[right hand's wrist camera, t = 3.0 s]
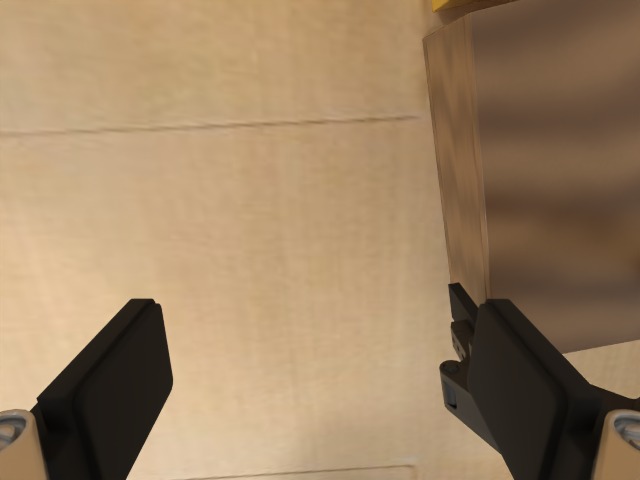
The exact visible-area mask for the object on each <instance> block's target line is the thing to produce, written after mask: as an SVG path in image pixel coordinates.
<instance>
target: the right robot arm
mask: <svg viewBox="0 0 640 480" xmlns="http://www.w3.org/2000/svg"><path fill="white" fill-rule="evenodd" d="M172 386H173V375H172V369H171V363H170V357H169V351H168V344H167V338H166V332H165V326H164V320H163V314H162V308H161V305H160V304H156V303H155V301H154V300H153V299H131V300H129V302H128V303H127V304H126V305H125V306H124V307H123V308H122V309H121V310H120V311H119V312H118V313H117V314H116V315H115V316H114V317H113V318H112V319H111V320H110V321H109V323H108V324H107V325H106V326H105V327H104V328H103V329H102V330H101V331H100V332H99V333H98V334H97V335H96V336H95V337H94V338H93V339H92V340H91V341H90V343H89V344H88V345H87V346H86V347H85V348H84V349H83V350H82V351H81V352H80V353H79V354H78V355H77V356H76V357H75V358H74V359H73V360H72V361H71V363H70V364H69V365H68V366H67V367H66V368H65V369H64V370H63V371H62V372H61V373H60V374H59V375H58V376H57V377H56V378H55V379H54V380H53V381H52V382H51V384H50V385H49V386H48V387H47V388H46V389H45V390H44V391H43V392H42V393H41V394H40V395H39V396H38V397H37V401H38V403H37V404H36V405H35V406H34V407H33V408H32V409H31V410H30V411H27V410H21V409H13V410H7V411H2V412H0V480H126V478H127V476H128V474H129V472H130V470H131V468H132V466H133V465H134V463H135V461H136V459H137V457H138V455H139V453H140V451H141V449H142V447H143V445H144V443H145V441H146V439H147V437H148V435H149V433H150V431H151V429H152V427H153V425H154V424H155V422H156V420H157V418H158V416H159V414H160V412H161V410H162V408H163V406H164V404H165V402H166V400H167V398H168V396H169V394H170V392H171V390H172ZM467 386H468V390H469V392H470V394H471V396H472V398H473V400H474V402H475V404H476V406H477V408H478V410H479V412H480V414H481V416H482V418H483V420H484V422H485V424H486V425H487V427H488V429H489V431H490V433H491V435H492V437H493V439H494V441H495V443H496V445H497V447H498V449H499V451H500V453H501V455H502V457H503V459H504V461H505V463H506V465H507V466H508V468H509V470H510V472H511V474H512V476H513V478H514V480H640V412H638V411H633V410H627V409H619V410H613V411H610V410H609V409H608V408H607V407H606V406H605V405H604V404H603V403H602V401H603V397H602V396H601V395H600V394H599V393H598V392H597V391H596V390H595V389H594V388H593V387H592V386H591V385H590V384H589V382H588V381H587V380H586V379H585V378H584V377H583V376H582V375H581V374H580V373H579V372H578V371H577V370H576V369H575V368H574V367H573V366H572V365H571V364H570V363H569V361H568V360H567V359H566V358H565V357H564V356H563V355H562V354H561V353H560V352H559V351H558V350H557V349H556V348H555V347H554V346H553V345H552V344H551V343H550V341H549V340H548V339H547V338H546V337H545V336H544V335H543V334H542V333H541V332H540V331H539V330H538V329H537V328H536V327H535V326H534V325H533V324H532V323H531V322H530V320H529V319H528V318H527V317H526V316H525V315H524V314H523V313H522V312H521V311H520V310H519V309H518V308H517V307H516V306H515V305H514V304H513V303H512V302H511V300H509V299H487V300H486V301H485V303H484V304H480V305H479V308H478V314H477V320H476V326H475V332H474V338H473V344H472V351H471V357H470V363H469V369H468V375H467Z"/></svg>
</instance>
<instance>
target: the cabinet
mask: <svg viewBox="0 0 640 480" xmlns="http://www.w3.org/2000/svg"><path fill="white" fill-rule="evenodd" d="M423 47H424V56H425V64H426V73H427V82H428V90H429V99H430V107H431V116H432V125H433V133H434V142H435V150H436V159H437V168H438V176H439V185H440V193H441V202H442V210H443V219H444V228H445V236H446V245H447V253H448V262H449V271H450V279H451V284H452V283H457V282H459V283H460V284H461V285H462V287H463V288H464V289H465V291H466V292H467V293H468V295H469V296H470V297H471V299H472V300H473V301H474V303H475V304H476V305H477V307H478V308H479V305H480V304H484V303H485V301H486V300H487V299H509V300H511V302H512V303H513V304H514V305H515V306H516V307H517V308H518V309H519V310H520V311H521V312H522V313H523V314H524V315H525V316H526V317H527V318H528V319H529V320H530V322H531V323H532V324H533V325H534V326H535V327H536V328H537V329H538V330H539V331H540V332H541V333H542V334H543V335H544V336H545V337H546V338H547V339H548V340H549V341H550V343H551V344H552V345H553V346H554V347H555V348H556V349H557V350H558V351H559V352H560V353H561V354H564V353H569V352H575V351H580V350H586V349H591V348H596V347H602V346H607V345H612V344H618V343H623V342H629V341H634V340H639V339H640V0H517V1H513V2H509V3H505V4H501V5H497V6H493V7H489V8H485V9H481V10H477V11H473V12H470V13H468V14H466V15H464V16H463V17H461V18H459V19H457V20H455V21H454V22H452V23H450V24H448V25H447V26H445V27H443V28H441V29H439V30H438V31H436V32H434V33H432V34H431V35H429V36H427V37H425V38H423Z"/></svg>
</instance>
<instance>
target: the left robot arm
mask: <svg viewBox="0 0 640 480" xmlns="http://www.w3.org/2000/svg"><path fill="white" fill-rule="evenodd" d="M448 286H449V295H450V303H451V312H452V318H453V319H454V321H455V322H451V334H452V342H453V347H454V349H455V351H456V353H457V354H458V356H459V358H460V360H461V362H458V361H455V360H447V361H445V362H443V363H442V364H440V367H439V368H440V376H441V383H442V390H443V397H444V404H445V407H446V408H447V409H448V410H449V411H450V412H451V413H452V414H454V415H455V416H456V417H457V418H458V419H459V420H461V421H462V422H463V423H464V424H465V425H467V426H468V427H469V428H470V429H471V430H473V431H474V432H475V433H476V434H477V435H479V436H480V437H481V438H482V439H483V440H484V441H486V442H487V443H488V444H489V445H490V446H492V447H493V448H494V449H495V450H496V451H498V452H499V453H500V451H499V449H498V447H497V445H496V443H495V441H494V439H493V437H492V435H491V433H490V431H489V429H488V427H487V425H486V424H485V422H484V420H483V418H482V416H481V414H480V412H479V410H478V408H477V406H476V404H475V402H474V400H473V398H472V396H471V394H470V392H469V390H468V386H467V375H468V369H469V363H470V357H471V351H472V344H473V338H474V332H475V326H476V320H477V314H478V307H477V305H476V304H475V303H474V301H473V300H472V299H471V297H470V296H469V295H468V293H467V292H466V291H465V289H464V288H463V287H462V285H461V284H460V283H459V282H457V283H452V284H448ZM590 385H591V384H590ZM591 386H592V387H593V388H594V389H595V390H596V391H597V392H598V393H599V394H600V395H601V396H602V397H603V401H602V403H603V404H604V405H605V406H606V407H607V408H608V409H609V410H610V411H613V410H619V409H627V410H633V411H638V412H640V397H639V398H637V399H630V398H627V397H624V396H621V395H618V394H616V393H613V392H610V391H607V390H605V389H602V388H599V387H597V386H594V385H591ZM500 454H501V453H500Z"/></svg>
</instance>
